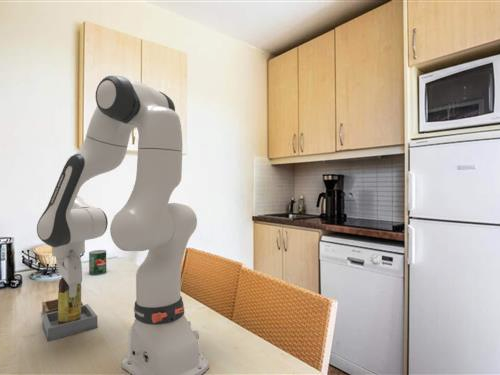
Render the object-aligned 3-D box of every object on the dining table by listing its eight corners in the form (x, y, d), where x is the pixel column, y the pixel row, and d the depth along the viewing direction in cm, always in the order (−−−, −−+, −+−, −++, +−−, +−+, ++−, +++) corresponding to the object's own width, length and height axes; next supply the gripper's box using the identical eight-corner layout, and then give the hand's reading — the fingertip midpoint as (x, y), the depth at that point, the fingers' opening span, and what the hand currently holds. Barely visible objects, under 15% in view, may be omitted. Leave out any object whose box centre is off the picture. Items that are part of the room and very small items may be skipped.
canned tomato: (101, 275, 152) (101, 253, 152) (85, 275, 152) (85, 253, 152) (109, 271, 160) (109, 249, 160) (94, 271, 160) (94, 249, 160)
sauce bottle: (70, 329, 93) (69, 263, 93) (52, 327, 94) (51, 262, 94) (86, 319, 99) (85, 257, 99) (69, 318, 100) (68, 257, 100)
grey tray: (97, 327, 96) (97, 316, 96) (47, 341, 88) (47, 328, 88) (87, 314, 106) (87, 304, 106) (42, 325, 98) (42, 314, 98)
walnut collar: (82, 313, 107) (82, 303, 106) (46, 322, 100) (46, 311, 100) (76, 304, 115) (76, 295, 115) (42, 312, 108) (42, 302, 108)
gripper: (87, 252, 91) (88, 299, 91) (73, 242, 106) (74, 283, 106) (62, 255, 87) (63, 304, 87) (52, 245, 102) (53, 287, 102)
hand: (69, 292), depth 97 cm, fingers open, 8 cm apart
